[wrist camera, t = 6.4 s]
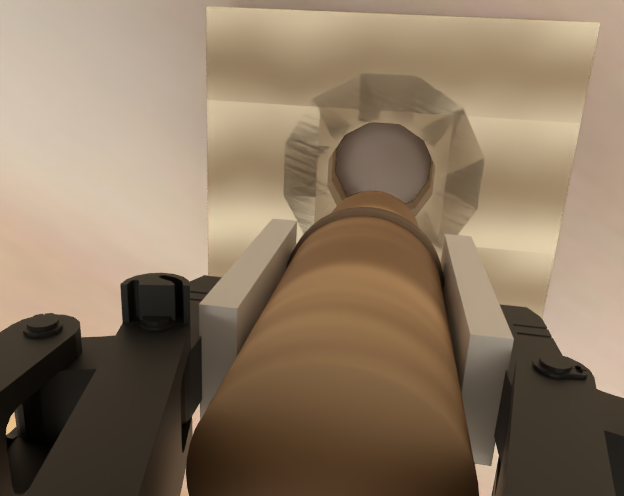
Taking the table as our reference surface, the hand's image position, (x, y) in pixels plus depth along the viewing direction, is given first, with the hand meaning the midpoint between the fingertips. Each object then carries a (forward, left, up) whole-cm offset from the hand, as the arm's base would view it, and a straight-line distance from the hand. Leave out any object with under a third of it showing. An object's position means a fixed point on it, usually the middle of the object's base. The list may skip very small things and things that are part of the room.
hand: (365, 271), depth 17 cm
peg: (0, 0, -4) cm, 4 cm away
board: (0, 0, -18) cm, 18 cm away
